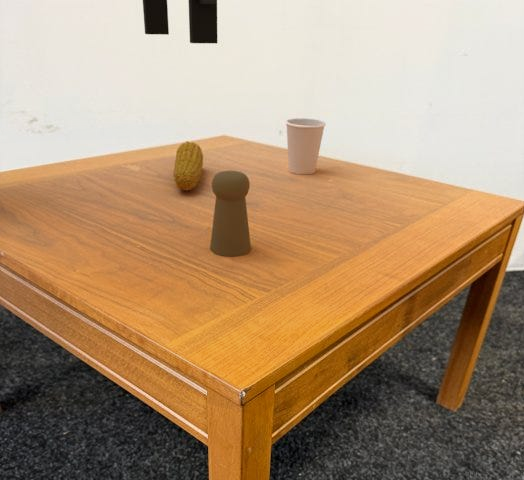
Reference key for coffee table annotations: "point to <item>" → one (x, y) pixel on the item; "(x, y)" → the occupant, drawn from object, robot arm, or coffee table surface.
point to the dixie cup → (304, 144)
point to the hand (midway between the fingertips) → (178, 38)
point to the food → (188, 165)
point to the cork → (230, 214)
